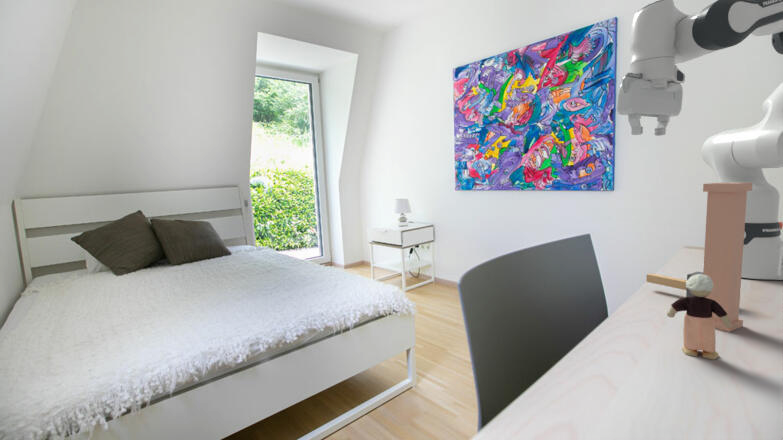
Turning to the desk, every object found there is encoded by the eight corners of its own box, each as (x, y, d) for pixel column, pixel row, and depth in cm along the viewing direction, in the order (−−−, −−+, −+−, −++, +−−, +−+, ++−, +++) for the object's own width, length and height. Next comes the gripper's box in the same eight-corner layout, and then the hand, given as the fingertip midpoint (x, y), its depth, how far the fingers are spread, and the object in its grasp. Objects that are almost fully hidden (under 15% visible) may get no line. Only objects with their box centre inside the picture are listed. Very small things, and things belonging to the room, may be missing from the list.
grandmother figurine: (722, 351, 59) (727, 273, 58) (731, 363, 56) (737, 279, 54) (663, 344, 62) (666, 269, 61) (668, 354, 59) (672, 275, 58)
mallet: (653, 288, 92) (654, 264, 92) (720, 303, 80) (722, 275, 80) (642, 291, 90) (643, 266, 90) (710, 306, 78) (711, 278, 78)
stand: (709, 317, 73) (717, 182, 70) (742, 326, 68) (752, 182, 65) (695, 322, 70) (703, 183, 68) (729, 332, 66) (738, 183, 63)
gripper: (638, 67, 82) (636, 132, 83) (689, 75, 91) (686, 134, 92) (610, 75, 87) (608, 135, 89) (660, 82, 96) (658, 137, 98)
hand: (648, 135), depth 90 cm, fingers open, 8 cm apart
